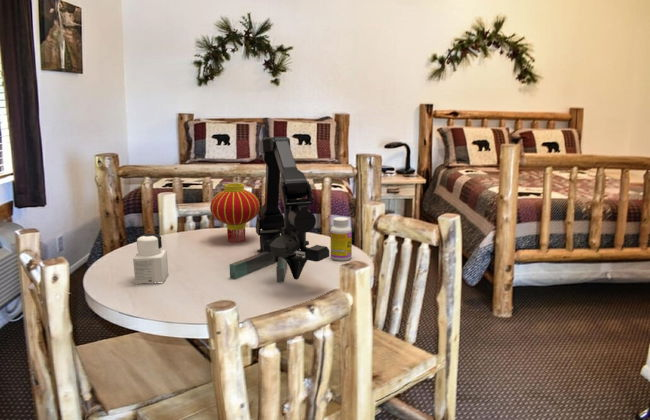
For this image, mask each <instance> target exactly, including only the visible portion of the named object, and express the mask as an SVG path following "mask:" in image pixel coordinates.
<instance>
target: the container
mask: <svg viewBox="0 0 650 420" xmlns="http://www.w3.org/2000/svg"><path fill="white" fill-rule="evenodd" d="M136 244H137V245H136V246H137V253H136V255H134V257H133V259H132V260H133V261H132V262H133V273H134V283H155V282H156V283H158V282H165V281H166V280H167V278H166V277H168V276H169V264H168V263H169V262H168V251H167V249H163V243H162V236H161V235H160V234H157V233H145V234H141V235H139V236H138V237H136ZM167 275H168V276H167ZM164 280H165V281H164Z"/></svg>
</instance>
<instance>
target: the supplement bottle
mask: <svg viewBox="0 0 650 420" xmlns="http://www.w3.org/2000/svg"><path fill="white" fill-rule="evenodd" d="M349 221H350V220H349V218H348V217H345V216H344V217H343V216H337V217H334V218H333V224H334V225H333V226H331V228H330V258H331V259H332V260H333V261H337V260H338V261H340V262H343V261H349V260H350V259H352V250H353V247H352V246H353V245H352V243H353V242H352V240H353V239H352V237H353V236H352V235H353V232H352V227H351V226H349V225H348V224H349Z"/></svg>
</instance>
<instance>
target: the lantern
mask: <svg viewBox="0 0 650 420" xmlns="http://www.w3.org/2000/svg"><path fill="white" fill-rule="evenodd" d="M234 166H235V165H234V164H232V168H233V171H232V172H233V173H232V174H233V176H235V174H234V173H235V169H234ZM260 208H261V206H260V201H259V199H258V197H257V196H256V194H254V193H252V192H251V191H249V190H247V189H246V188H245V185H244V183H236V182H233V183H226V184H224V189H223V190H222V191H220V192H218V193H217V194H216V195H215V196H214V197H213V198H212V200H211V202H210V204H209V210H210V212H211V215H212V216H213V217H214V218H215V219H216V220H217V221H218V222H220V223H222V224H225V225H226V228H227V229H226V230H227V231H226V232H227V241H228V243H235V244H236V243H237V244H238V243H243V242H245V241H246V240H247V239H246V224H247V223H249V222H250V221H252V220H254V219H255V218H256V217H257V215H259V210H260Z"/></svg>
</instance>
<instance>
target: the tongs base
mask: <svg viewBox="0 0 650 420" xmlns="http://www.w3.org/2000/svg"><path fill="white" fill-rule="evenodd" d="M278 260H279V256H273V255H272V252H271V253H270V252H259V253H258V254H254V255H251V256H249V257H247V258H244V259H240V260H238V261H235V262H232V263H229V266H228V267H229V279H232V280H233V279H234V280H237V279H239V278H241V277H245V276H248V275H250V274H252V273H254V272H257V271H259V270H262V269H264V268H266V267H269V266H271V265H274V264H276V263H278Z"/></svg>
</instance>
